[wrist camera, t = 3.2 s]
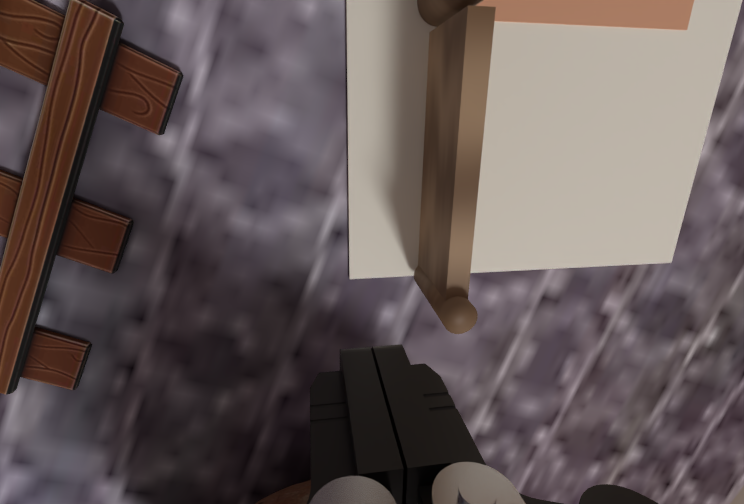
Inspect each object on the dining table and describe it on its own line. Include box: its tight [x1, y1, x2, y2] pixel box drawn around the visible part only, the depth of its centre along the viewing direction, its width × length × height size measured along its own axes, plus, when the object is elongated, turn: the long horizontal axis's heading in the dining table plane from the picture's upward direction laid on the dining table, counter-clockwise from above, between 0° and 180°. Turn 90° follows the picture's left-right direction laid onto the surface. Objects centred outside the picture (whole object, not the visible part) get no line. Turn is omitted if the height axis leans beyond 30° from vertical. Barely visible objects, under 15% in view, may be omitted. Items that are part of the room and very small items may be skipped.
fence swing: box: [414, 5, 496, 334], centre depth 21 cm, size 15×2×6 cm, turn 0°
